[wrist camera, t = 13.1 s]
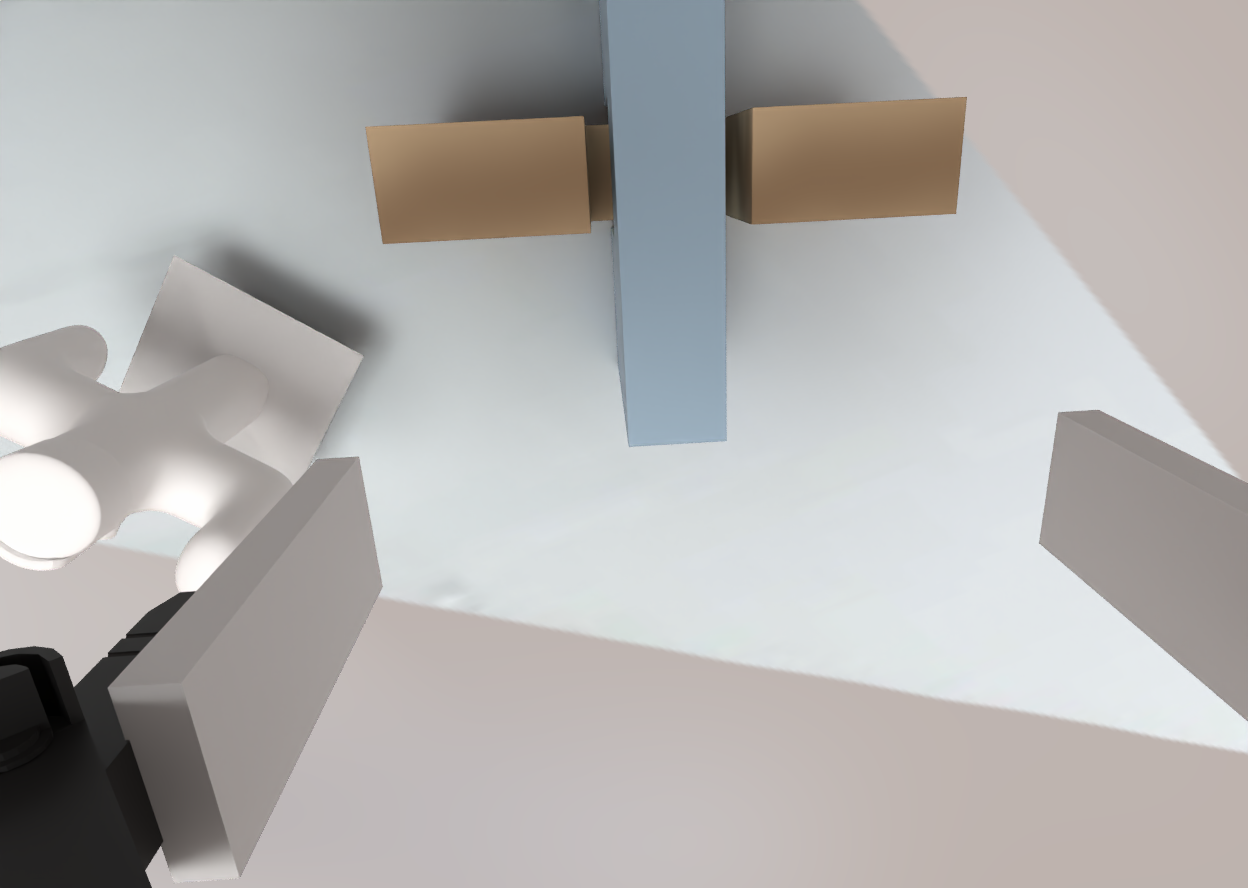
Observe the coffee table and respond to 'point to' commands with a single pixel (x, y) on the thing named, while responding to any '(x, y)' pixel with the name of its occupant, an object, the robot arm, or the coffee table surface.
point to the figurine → (164, 425)
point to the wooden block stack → (581, 169)
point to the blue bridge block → (668, 214)
